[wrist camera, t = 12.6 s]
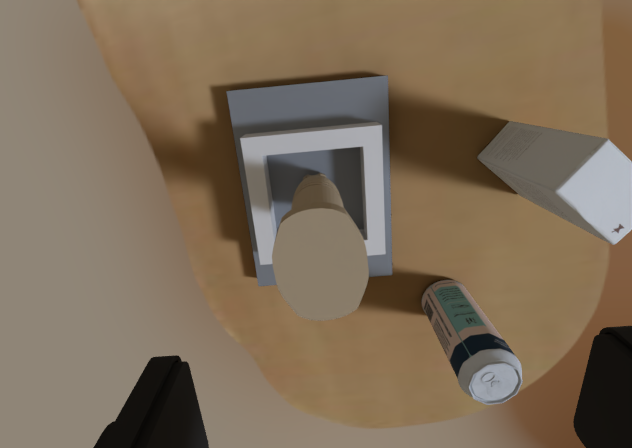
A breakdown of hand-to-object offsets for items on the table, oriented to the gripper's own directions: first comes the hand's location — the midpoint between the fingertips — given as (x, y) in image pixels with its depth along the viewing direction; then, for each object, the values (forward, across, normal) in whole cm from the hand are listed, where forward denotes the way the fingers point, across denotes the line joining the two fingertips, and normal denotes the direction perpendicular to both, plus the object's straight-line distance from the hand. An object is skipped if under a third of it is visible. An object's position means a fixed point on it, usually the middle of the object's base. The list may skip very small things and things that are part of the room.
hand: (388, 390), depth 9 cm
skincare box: (+27, -16, +1) cm, 32 cm away
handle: (+26, +2, +2) cm, 26 cm away
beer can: (+27, -11, +16) cm, 33 cm away
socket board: (+27, +2, +3) cm, 27 cm away
